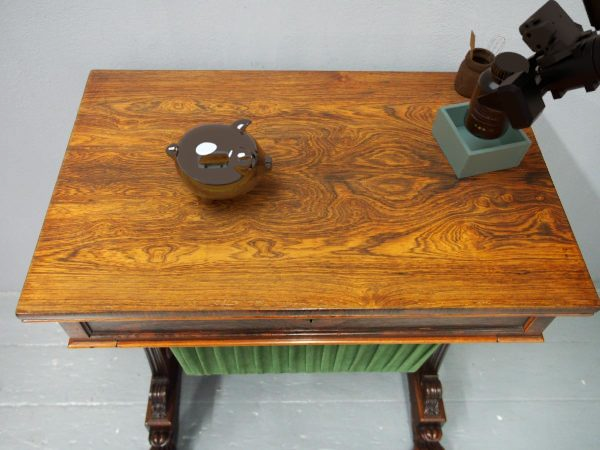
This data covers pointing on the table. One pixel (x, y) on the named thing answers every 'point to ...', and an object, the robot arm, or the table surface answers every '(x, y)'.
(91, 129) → the table surface
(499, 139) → the open storage bin
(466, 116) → the supplement bottle
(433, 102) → the table surface
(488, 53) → the utensil holder
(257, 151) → the piggy bank
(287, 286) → the table surface
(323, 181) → the table surface
